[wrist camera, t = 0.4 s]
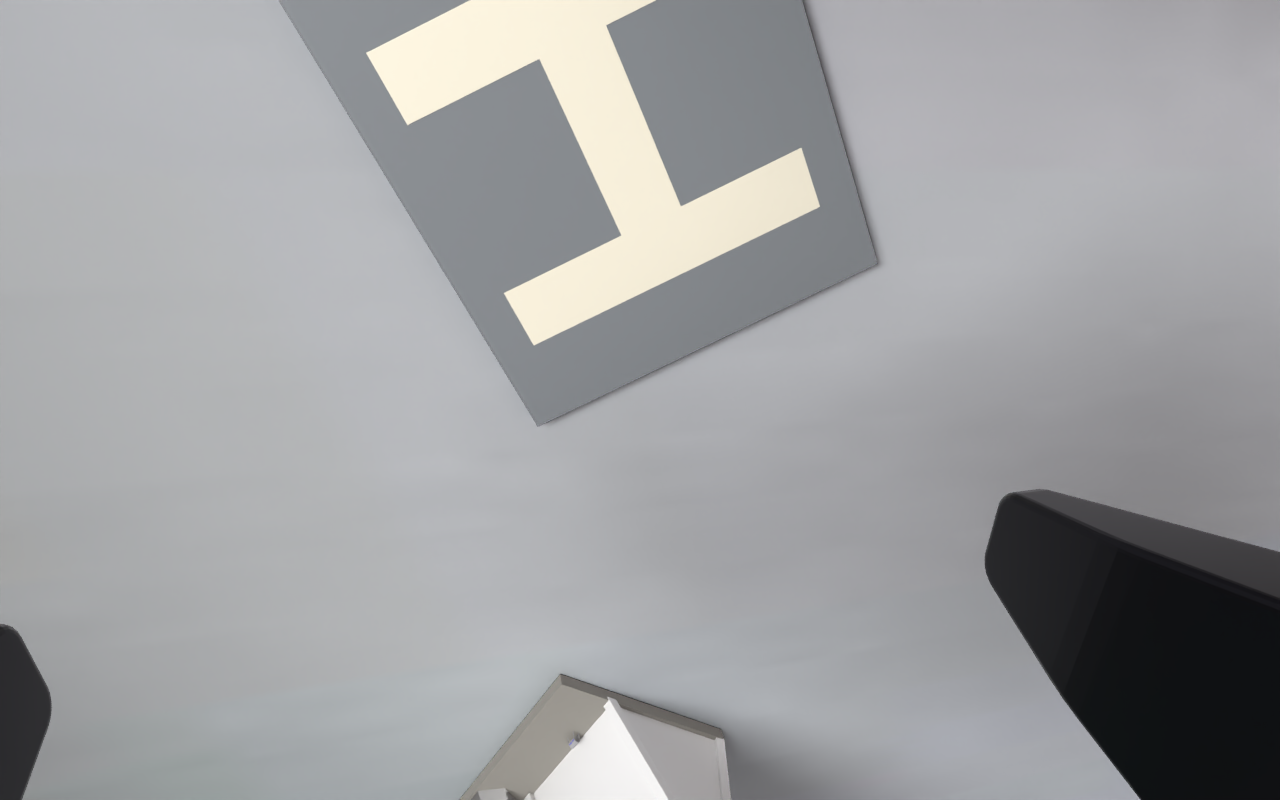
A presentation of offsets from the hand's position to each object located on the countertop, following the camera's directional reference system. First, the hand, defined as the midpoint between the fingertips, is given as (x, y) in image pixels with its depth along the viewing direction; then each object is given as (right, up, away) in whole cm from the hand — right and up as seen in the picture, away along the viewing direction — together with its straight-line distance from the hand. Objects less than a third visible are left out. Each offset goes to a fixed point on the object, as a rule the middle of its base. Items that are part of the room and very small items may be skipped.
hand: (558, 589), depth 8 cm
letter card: (0, +8, +12) cm, 14 cm away
